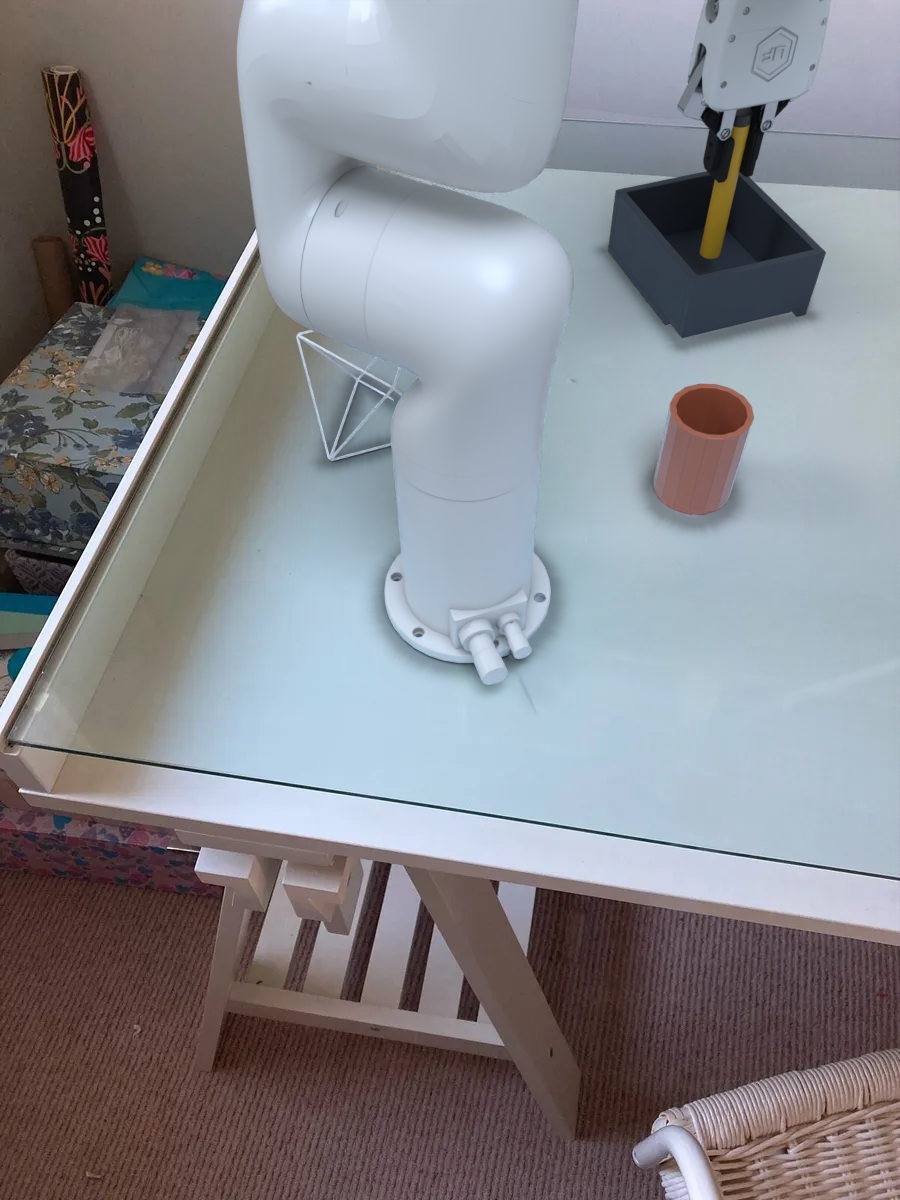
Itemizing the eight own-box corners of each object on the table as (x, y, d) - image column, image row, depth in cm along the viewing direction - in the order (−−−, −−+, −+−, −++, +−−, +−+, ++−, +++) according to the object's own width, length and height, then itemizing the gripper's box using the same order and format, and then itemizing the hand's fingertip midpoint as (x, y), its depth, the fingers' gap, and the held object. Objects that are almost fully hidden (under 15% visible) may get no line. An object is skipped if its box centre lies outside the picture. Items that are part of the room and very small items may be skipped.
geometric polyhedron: (375, 491, 80) (366, 407, 73) (284, 433, 85) (268, 349, 77) (469, 413, 86) (470, 329, 79) (380, 363, 90) (373, 279, 83)
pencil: (723, 256, 94) (757, 113, 83) (705, 261, 94) (736, 117, 83) (714, 245, 96) (745, 103, 84) (696, 250, 95) (725, 107, 84)
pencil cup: (741, 509, 78) (769, 427, 71) (673, 529, 77) (694, 447, 70) (705, 459, 82) (728, 376, 75) (639, 477, 81) (656, 394, 74)
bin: (805, 314, 94) (826, 252, 88) (680, 344, 91) (693, 282, 86) (723, 225, 103) (737, 164, 98) (607, 250, 101) (615, 189, 95)
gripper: (708, -24, 70) (667, 210, 85) (896, -56, 73) (825, 176, 87) (662, -60, 74) (631, 168, 89) (841, -89, 77) (782, 137, 92)
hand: (727, 170), depth 88 cm, fingers closed on pencil, 2 cm apart
